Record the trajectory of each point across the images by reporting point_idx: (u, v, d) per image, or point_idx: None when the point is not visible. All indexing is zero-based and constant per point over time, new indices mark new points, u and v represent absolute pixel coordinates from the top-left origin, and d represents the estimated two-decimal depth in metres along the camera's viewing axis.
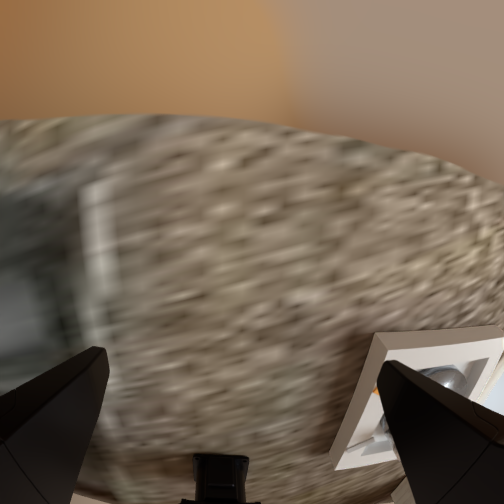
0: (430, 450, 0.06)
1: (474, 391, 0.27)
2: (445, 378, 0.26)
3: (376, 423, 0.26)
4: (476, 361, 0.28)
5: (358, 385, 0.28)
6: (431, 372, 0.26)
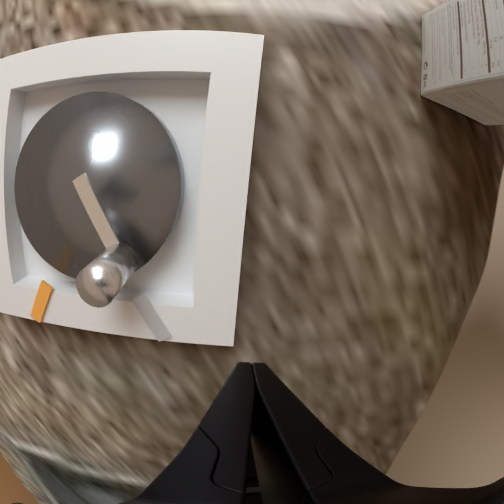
0: (270, 476, 0.06)
1: (74, 68, 0.13)
2: (23, 188, 0.15)
3: None
4: (41, 88, 0.14)
5: None
6: None
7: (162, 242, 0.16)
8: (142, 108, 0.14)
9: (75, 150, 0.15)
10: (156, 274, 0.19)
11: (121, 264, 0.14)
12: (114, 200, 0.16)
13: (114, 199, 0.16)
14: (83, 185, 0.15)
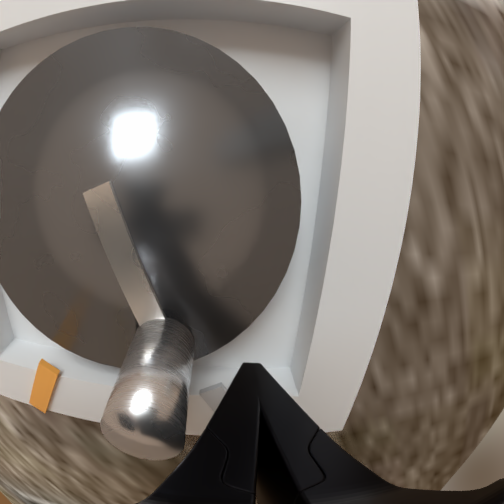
0: (264, 476, 0.06)
1: None
2: None
3: None
4: (27, 40, 0.07)
5: None
6: None
7: (245, 326, 0.10)
8: (249, 77, 0.07)
9: (95, 133, 0.07)
10: (230, 344, 0.12)
11: (184, 379, 0.07)
12: (165, 244, 0.09)
13: (164, 243, 0.09)
14: (104, 205, 0.08)
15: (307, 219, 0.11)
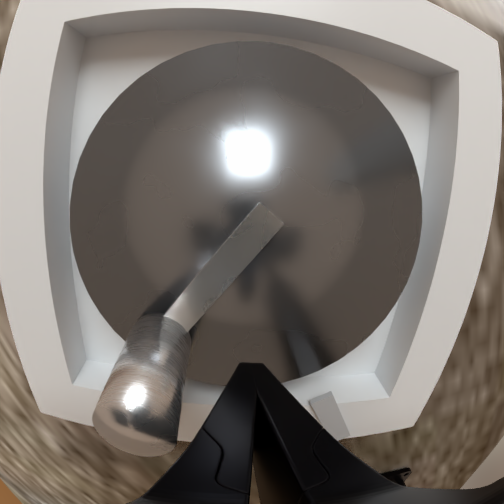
0: (267, 476, 0.06)
1: None
2: (195, 76, 0.07)
3: None
4: (124, 31, 0.08)
5: None
6: None
7: (222, 383, 0.10)
8: (407, 277, 0.10)
9: (317, 184, 0.08)
10: None
11: None
12: (254, 298, 0.09)
13: (255, 296, 0.09)
14: (260, 231, 0.09)
15: None
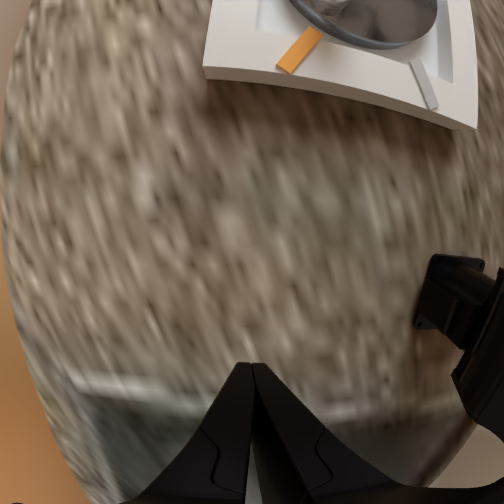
0: (270, 476, 0.06)
1: None
2: None
3: (374, 58, 0.14)
4: None
5: (305, 88, 0.17)
6: None
7: (359, 34, 0.14)
8: (436, 11, 0.13)
9: None
10: (409, 61, 0.16)
11: None
12: None
13: None
14: None
15: None
